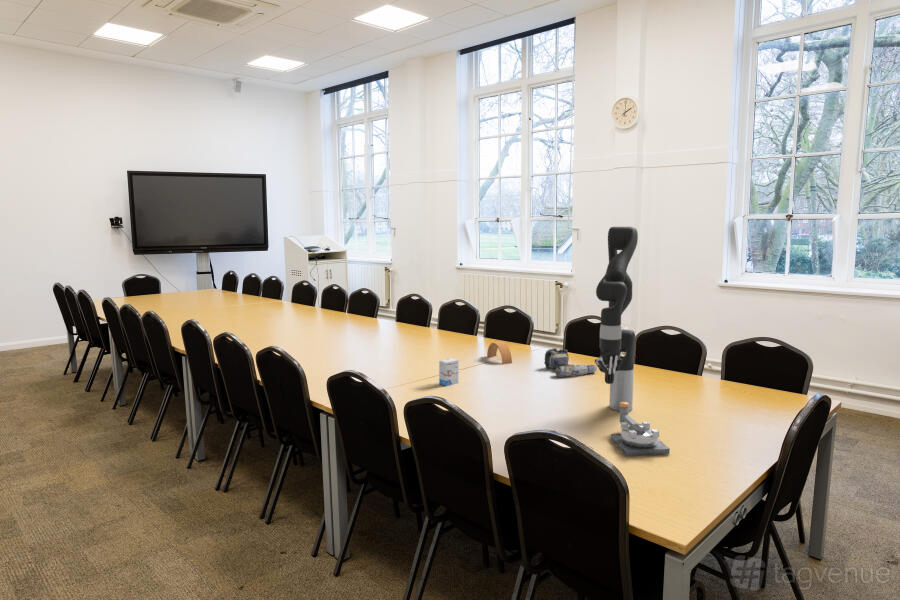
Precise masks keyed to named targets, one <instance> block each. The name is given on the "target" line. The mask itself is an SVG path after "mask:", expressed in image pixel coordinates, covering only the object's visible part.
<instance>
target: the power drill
mask: <svg viewBox="0 0 900 600" xmlns="http://www.w3.org/2000/svg"><path fill="white" fill-rule="evenodd" d="M545 351H546V352H545V354H544V365H545V368H551V369H555V370H554V373H555V375H556V376H557V377H558V378H566V377H571V378H572V377H578V376H583V375H587V374H593V373H595V372H597V369H598V366H597V365H596V364H595V365H594V364H587V365H586V364H572V363H571V364H570V363H569V359H570V357H569V350H568V349H563V348H562V349H559V350H558V349H557V348H555V347H554V348H551V349H548V350H545Z"/></svg>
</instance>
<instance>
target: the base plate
mask: <svg viewBox="0 0 900 600" xmlns="http://www.w3.org/2000/svg"><path fill="white" fill-rule="evenodd" d="M610 440H611V442H612V441H613V442H614V443H615V444H616V445H617V446H616V445H615V444H614V443H613V442H612V443H613V444H614V445H615V446H616V448H617V449H618V450H621V451H622V452H623V453H622V452H621V451H620V452H621V453H622V454H623V455H624V456H625V457H639V456H640V457H641V456H643V455H646V456H663V454H669V455H670V454H671V453H670V452H671V451H670V449H671V448H669V446H667V445H666V444H665V443H664V442H663V441H662V440H661V439H659V438H658V443H657V445H655V446H653V447H635V446H630V445H628V444H625V443H624V442H622V440H621V433H610Z"/></svg>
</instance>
